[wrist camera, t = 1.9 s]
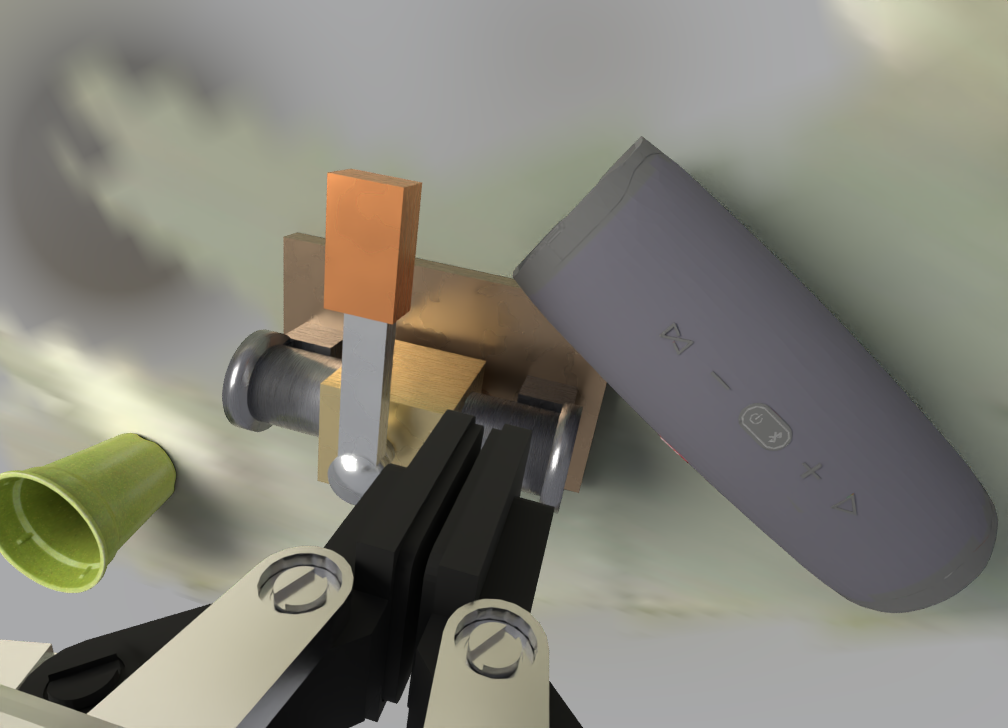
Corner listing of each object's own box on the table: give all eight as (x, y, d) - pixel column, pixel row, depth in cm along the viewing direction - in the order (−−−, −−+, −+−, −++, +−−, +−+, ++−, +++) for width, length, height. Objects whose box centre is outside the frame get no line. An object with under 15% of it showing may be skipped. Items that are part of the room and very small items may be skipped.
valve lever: (392, 497, 27) (376, 521, 26) (337, 482, 28) (318, 504, 26) (422, 182, 21) (403, 187, 20) (351, 168, 22) (327, 172, 20)
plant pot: (69, 434, 46) (-48, 498, 39) (146, 395, 43) (35, 455, 35) (141, 527, 49) (44, 605, 41) (219, 497, 45) (130, 575, 38)
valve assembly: (625, 303, 33) (616, 379, 23) (581, 479, 38) (558, 603, 28) (297, 232, 35) (166, 274, 26) (295, 405, 40) (185, 494, 31)
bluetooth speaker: (523, 258, 33) (478, 308, 24) (649, 125, 29) (653, 125, 20) (795, 523, 35) (848, 659, 26) (944, 432, 31) (1067, 556, 22)
